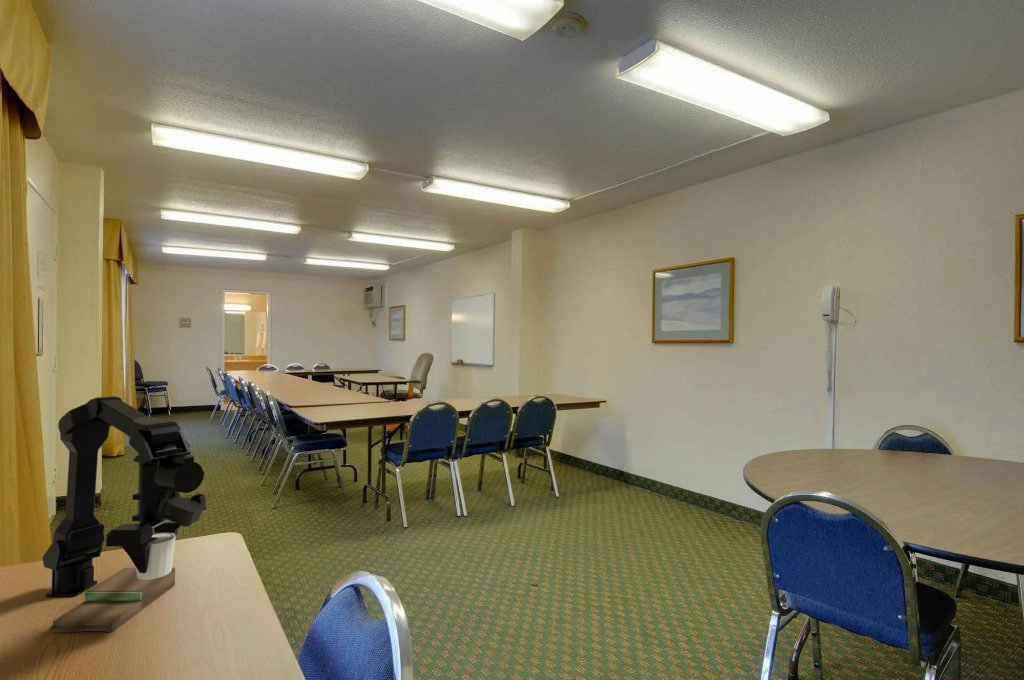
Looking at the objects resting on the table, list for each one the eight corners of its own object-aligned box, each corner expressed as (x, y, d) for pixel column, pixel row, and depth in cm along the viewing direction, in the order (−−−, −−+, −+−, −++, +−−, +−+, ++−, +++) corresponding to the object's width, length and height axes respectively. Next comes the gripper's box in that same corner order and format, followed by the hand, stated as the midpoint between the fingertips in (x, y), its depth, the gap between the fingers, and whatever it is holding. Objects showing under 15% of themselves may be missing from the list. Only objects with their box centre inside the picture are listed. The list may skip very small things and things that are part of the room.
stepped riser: (50, 633, 97) (51, 611, 97) (124, 585, 116) (125, 567, 116) (110, 633, 97) (111, 611, 97) (174, 585, 117) (175, 567, 117)
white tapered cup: (183, 569, 104) (184, 534, 104) (149, 583, 98) (150, 546, 98) (158, 564, 106) (159, 529, 106) (124, 578, 100) (124, 541, 100)
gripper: (167, 500, 93) (165, 587, 93) (222, 474, 112) (221, 547, 112) (104, 500, 93) (102, 587, 93) (170, 474, 111) (168, 547, 111)
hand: (154, 565), depth 102 cm, fingers closed on white tapered cup, 6 cm apart
